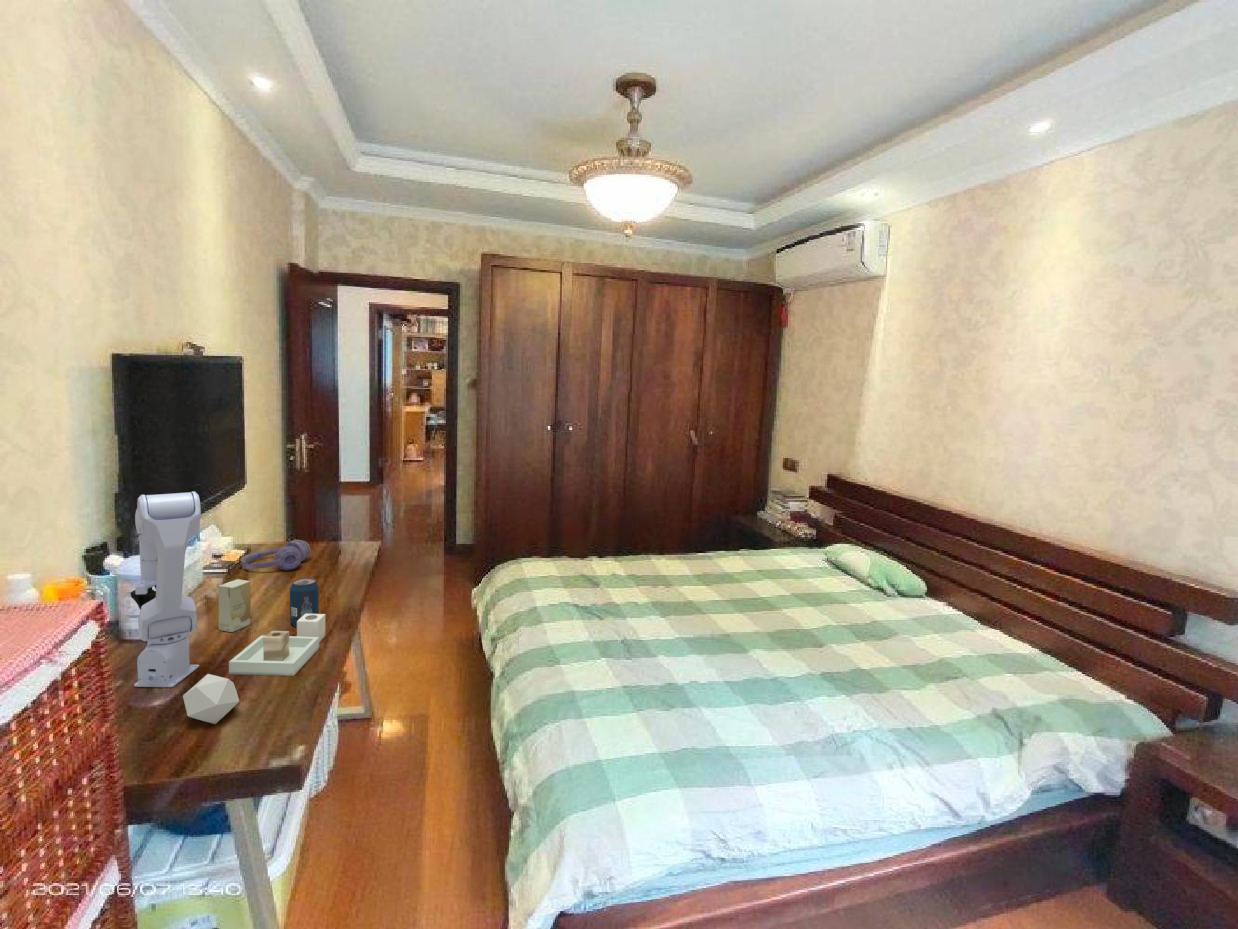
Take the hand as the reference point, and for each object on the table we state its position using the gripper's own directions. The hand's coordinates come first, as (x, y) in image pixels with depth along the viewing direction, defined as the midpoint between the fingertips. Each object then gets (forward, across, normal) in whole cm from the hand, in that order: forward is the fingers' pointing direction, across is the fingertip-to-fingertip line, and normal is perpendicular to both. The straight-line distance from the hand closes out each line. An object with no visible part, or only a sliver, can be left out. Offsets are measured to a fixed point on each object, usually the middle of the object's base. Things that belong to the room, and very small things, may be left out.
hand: (157, 612), depth 142 cm
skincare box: (+10, +12, -12) cm, 20 cm away
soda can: (+10, +13, -29) cm, 33 cm away
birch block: (+9, -9, -28) cm, 31 cm away
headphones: (+10, +65, -7) cm, 66 cm away
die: (+10, -32, -23) cm, 41 cm away
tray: (+9, -9, -28) cm, 31 cm away
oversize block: (+10, +2, -33) cm, 34 cm away
